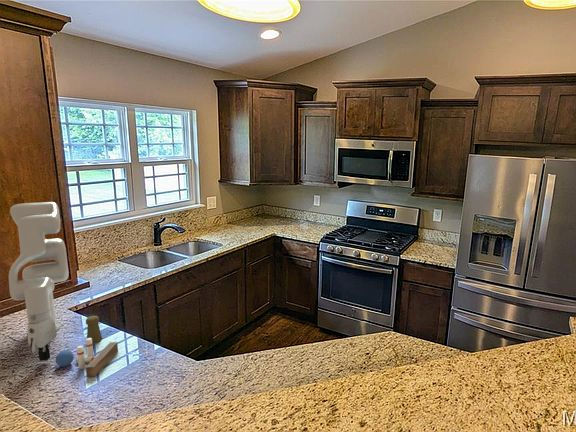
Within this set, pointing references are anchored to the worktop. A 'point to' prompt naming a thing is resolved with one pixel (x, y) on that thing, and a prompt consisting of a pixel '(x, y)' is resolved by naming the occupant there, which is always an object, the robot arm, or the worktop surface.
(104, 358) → the wall
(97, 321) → the cork
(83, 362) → the back right pin
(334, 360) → the worktop surface
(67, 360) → the ball
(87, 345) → the back left pin
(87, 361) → the front pin
